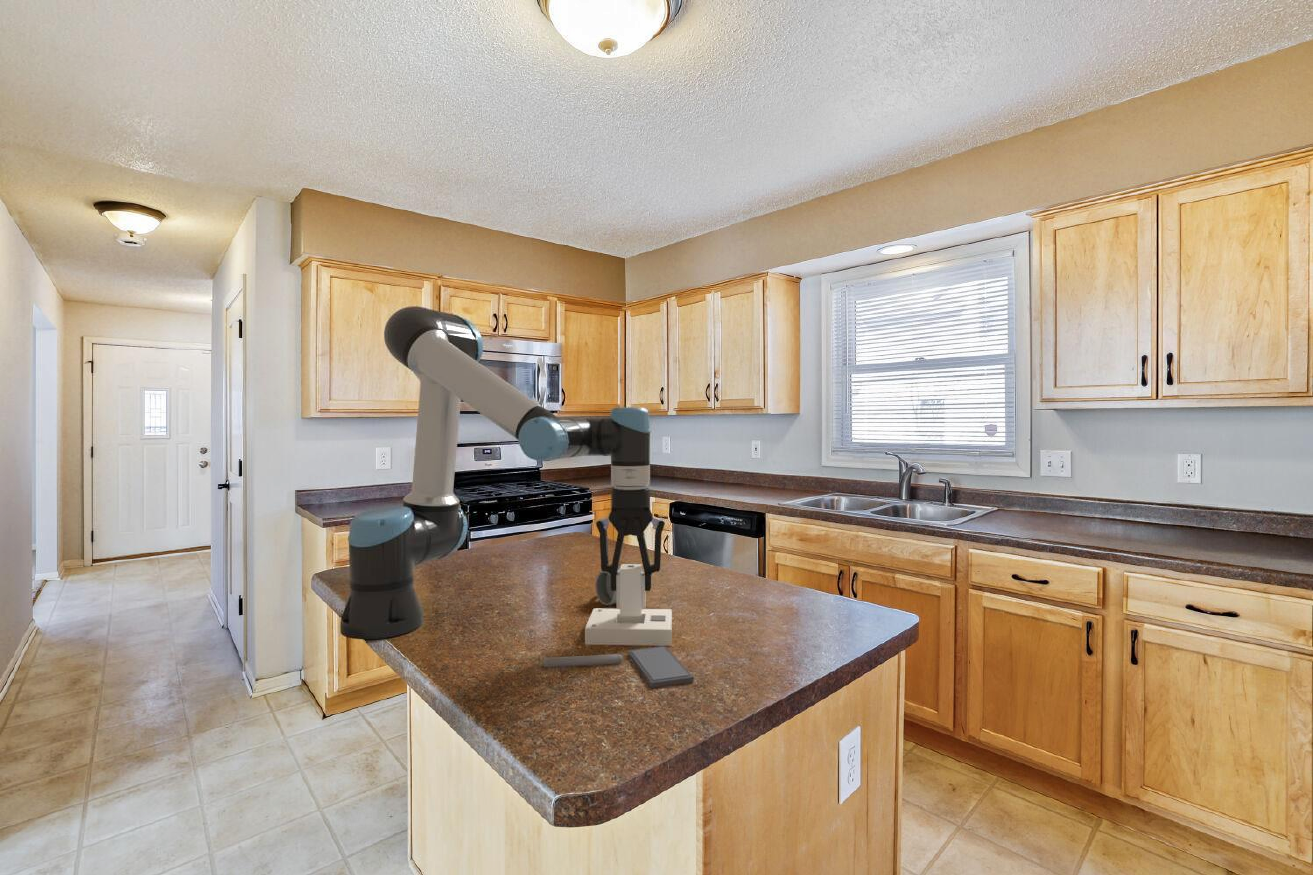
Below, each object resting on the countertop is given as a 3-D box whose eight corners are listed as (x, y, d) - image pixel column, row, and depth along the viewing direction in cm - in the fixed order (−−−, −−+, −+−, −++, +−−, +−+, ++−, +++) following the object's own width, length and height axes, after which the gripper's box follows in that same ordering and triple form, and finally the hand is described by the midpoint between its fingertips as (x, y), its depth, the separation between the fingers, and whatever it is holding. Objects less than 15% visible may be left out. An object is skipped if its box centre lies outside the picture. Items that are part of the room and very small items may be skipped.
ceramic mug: (643, 601, 140) (642, 568, 140) (614, 609, 134) (614, 574, 134) (615, 592, 148) (614, 561, 148) (587, 599, 142) (586, 566, 142)
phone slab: (651, 687, 95) (651, 682, 95) (627, 654, 108) (627, 649, 108) (693, 681, 97) (693, 676, 97) (665, 650, 110) (665, 645, 110)
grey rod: (542, 669, 102) (542, 660, 102) (542, 665, 104) (542, 656, 104) (623, 665, 104) (623, 655, 104) (622, 661, 106) (622, 652, 106)
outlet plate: (584, 644, 113) (584, 627, 113) (593, 622, 125) (593, 607, 125) (671, 645, 113) (671, 628, 113) (671, 623, 125) (671, 608, 125)
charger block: (620, 615, 117) (619, 568, 116) (621, 609, 121) (621, 563, 120) (640, 615, 117) (640, 568, 116) (642, 609, 121) (641, 563, 120)
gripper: (583, 489, 115) (584, 612, 115) (674, 489, 114) (675, 613, 115) (589, 484, 122) (590, 600, 123) (674, 485, 121) (675, 601, 122)
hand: (631, 606), depth 119 cm, fingers closed on charger block, 4 cm apart
